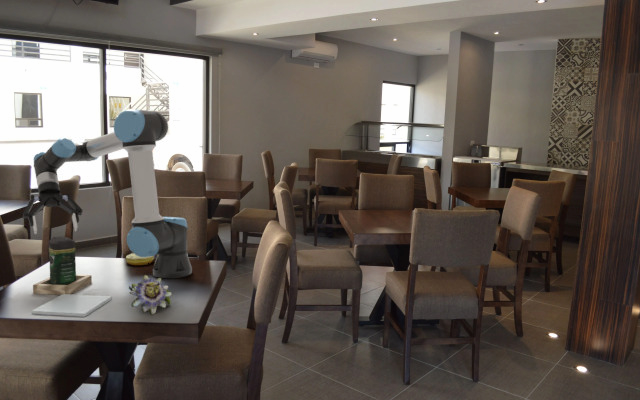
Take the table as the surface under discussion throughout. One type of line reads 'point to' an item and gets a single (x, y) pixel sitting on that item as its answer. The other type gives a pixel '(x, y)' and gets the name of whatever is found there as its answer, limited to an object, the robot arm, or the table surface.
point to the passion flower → (150, 294)
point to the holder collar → (62, 286)
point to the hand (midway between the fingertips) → (56, 230)
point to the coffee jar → (62, 261)
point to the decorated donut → (138, 259)
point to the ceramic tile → (72, 305)
